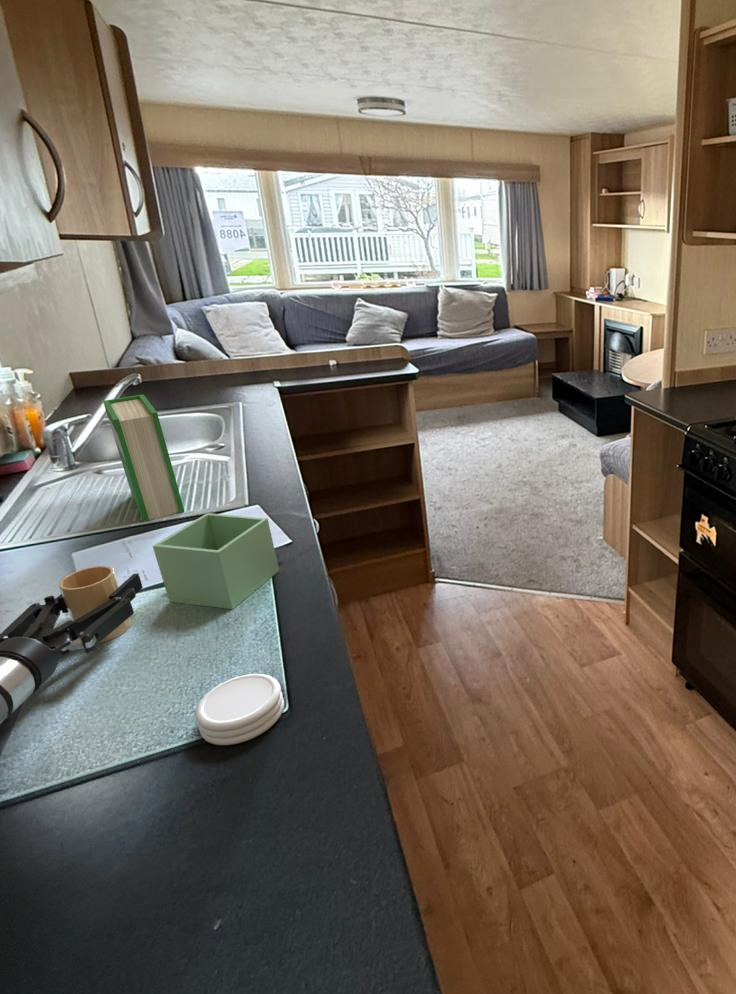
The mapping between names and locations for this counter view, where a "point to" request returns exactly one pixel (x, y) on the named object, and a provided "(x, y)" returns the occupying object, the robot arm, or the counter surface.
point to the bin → (217, 560)
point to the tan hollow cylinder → (90, 593)
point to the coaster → (239, 709)
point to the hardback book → (144, 456)
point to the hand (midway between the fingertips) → (113, 581)
